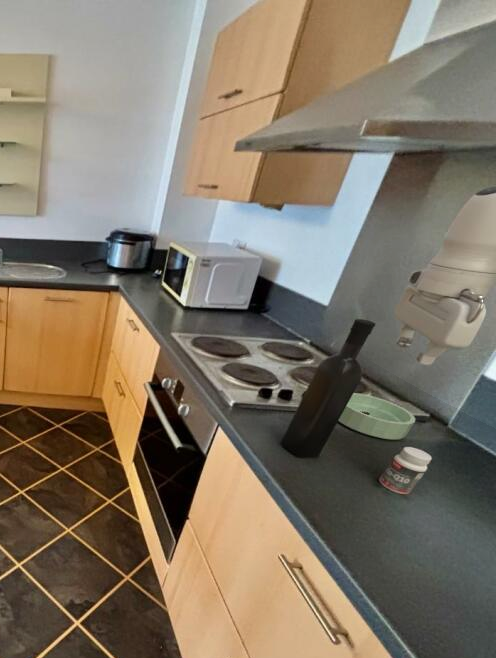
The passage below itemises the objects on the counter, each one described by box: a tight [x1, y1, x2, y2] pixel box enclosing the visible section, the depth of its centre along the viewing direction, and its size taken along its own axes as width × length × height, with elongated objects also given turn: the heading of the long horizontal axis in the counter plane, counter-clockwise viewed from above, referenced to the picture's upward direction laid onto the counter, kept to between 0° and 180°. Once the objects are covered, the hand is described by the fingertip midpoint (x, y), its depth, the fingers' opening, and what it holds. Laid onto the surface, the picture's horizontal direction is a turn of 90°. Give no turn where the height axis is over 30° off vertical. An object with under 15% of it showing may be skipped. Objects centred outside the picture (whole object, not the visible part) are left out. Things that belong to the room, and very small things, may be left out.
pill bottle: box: [379, 446, 433, 495], centre depth 80 cm, size 5×5×8 cm
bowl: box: [338, 392, 416, 441], centre depth 102 cm, size 15×15×5 cm
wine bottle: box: [280, 318, 376, 458], centre depth 84 cm, size 6×6×30 cm
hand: (411, 354), depth 81 cm, fingers open, 8 cm apart
